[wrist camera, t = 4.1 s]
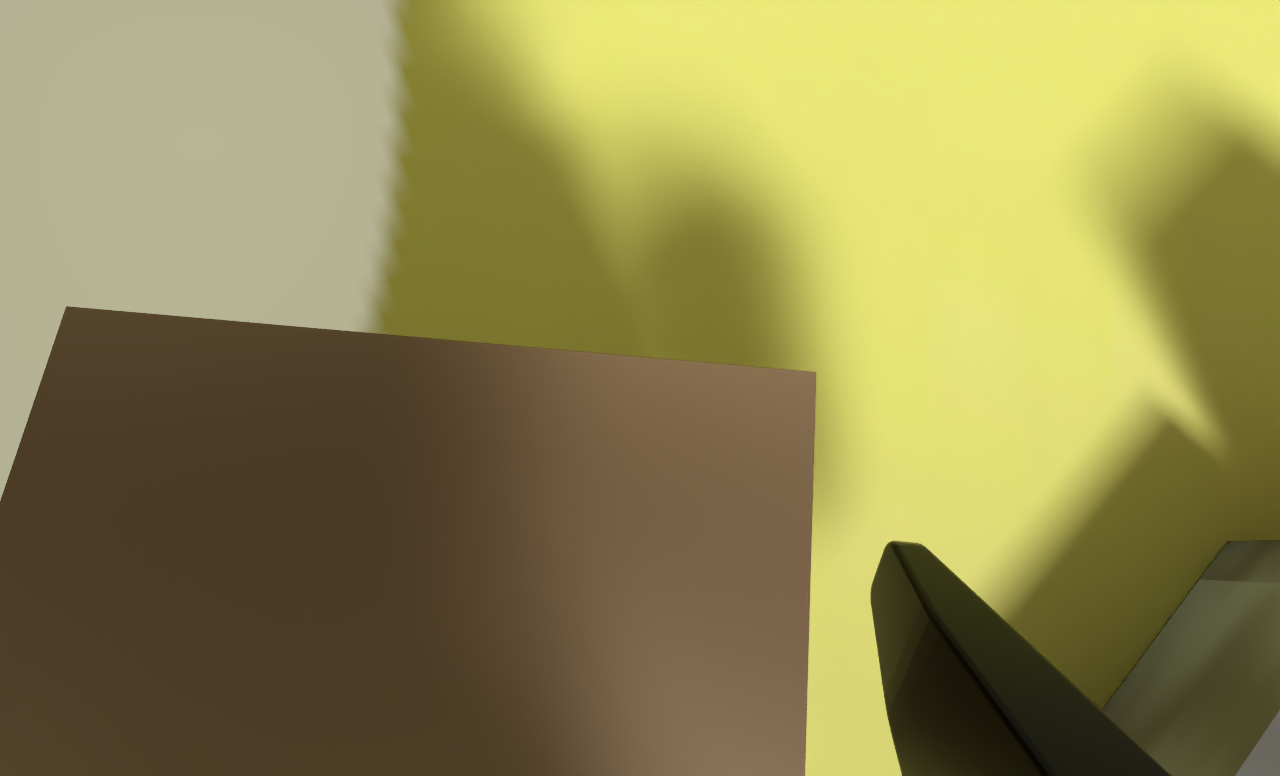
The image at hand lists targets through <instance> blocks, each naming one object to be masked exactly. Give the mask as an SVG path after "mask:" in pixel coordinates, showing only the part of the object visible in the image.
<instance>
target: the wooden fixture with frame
mask: <svg viewBox="0 0 1280 776" xmlns="http://www.w3.org/2000/svg"><path fill="white" fill-rule="evenodd" d="M1102 711H1103V712H1104V713H1105V714H1106V715H1107V716H1108V717H1109V718H1111V719H1112V720H1113V721H1114V722H1115V723H1116V724H1117V725H1118V726H1119V727H1120V728H1121V729H1122V730H1123V731H1125V732H1126V733H1127V734H1128V735H1129V736H1130V737H1131V738H1132V739H1133V740H1134V741H1135V742H1136V743H1137V744H1139V745H1140V746H1141V747H1142V748H1143V749H1144V750H1145V751H1146V752H1147V753H1148V754H1149V755H1150V756H1151V757H1153V758H1154V759H1155V760H1156V761H1157V762H1158V763H1159V764H1160V765H1161V766H1162V767H1163V768H1164V769H1166V770H1167V771H1168V772H1169V773H1170V774H1171V775H1172V776H1280V540H1262V541H1227V543H1226V544H1225V545H1224V547H1223V548H1222V549H1221V551H1220V552H1219V554H1218V555H1217V556H1216V558H1215V559H1214V560H1213V562H1212V563H1211V564H1210V566H1209V567H1208V568H1207V570H1206V571H1205V572H1204V574H1203V575H1202V576H1201V578H1200V579H1199V581H1198V582H1197V583H1196V585H1195V586H1194V587H1193V589H1192V590H1191V591H1190V593H1189V594H1188V595H1187V597H1186V598H1185V599H1184V601H1183V602H1182V604H1181V605H1180V606H1179V608H1178V609H1177V610H1176V612H1175V613H1174V614H1173V616H1172V617H1171V618H1170V620H1169V621H1168V622H1167V624H1166V625H1165V627H1164V628H1163V629H1162V631H1161V632H1160V633H1159V635H1158V636H1157V637H1156V639H1155V640H1154V641H1153V643H1152V644H1151V645H1150V647H1149V648H1148V650H1147V651H1146V652H1145V654H1144V655H1143V656H1142V658H1141V659H1140V660H1139V662H1138V663H1137V664H1136V666H1135V667H1134V668H1133V670H1132V671H1131V673H1130V674H1129V675H1128V677H1127V678H1126V679H1125V681H1124V682H1123V683H1122V685H1121V686H1120V687H1119V689H1118V690H1117V691H1116V693H1115V694H1114V696H1113V697H1112V698H1111V700H1110V701H1109V702H1108V704H1107V705H1106V706H1105V708H1104V709H1103V710H1102Z"/></svg>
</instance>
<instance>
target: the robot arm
mask: <svg viewBox="0 0 1280 776" xmlns="http://www.w3.org/2000/svg"><path fill="white" fill-rule="evenodd" d="M871 607H872V614H873V621H874V628H875V635H876V642H877V649H878V656H879V663H880V670H881V677H882V684H883V691H884V698H885V704H886V710H887V716H888V721H889V725H890V729H891V734H892V738H893V742H894V746H895V750H896V753H897V757H898V761H899V765H900V769H901V773H902V776H1172V775H1171V774H1170V773H1169V772H1168V771H1167V770H1166V769H1164V768H1163V767H1162V766H1161V765H1160V764H1159V763H1158V762H1157V761H1156V760H1155V759H1154V758H1153V757H1151V756H1150V755H1149V754H1148V753H1147V752H1146V751H1145V750H1144V749H1143V748H1142V747H1141V746H1140V745H1139V744H1137V743H1136V742H1135V741H1134V740H1133V739H1132V738H1131V737H1130V736H1129V735H1128V734H1127V733H1126V732H1125V731H1123V730H1122V729H1121V728H1120V727H1119V726H1118V725H1117V724H1116V723H1115V722H1114V721H1113V720H1112V719H1111V718H1109V717H1108V716H1107V715H1106V714H1105V713H1104V712H1103V711H1102V710H1101V709H1100V708H1099V707H1098V706H1097V705H1095V704H1094V703H1093V702H1092V701H1091V700H1090V699H1089V698H1088V697H1087V696H1086V695H1085V694H1084V693H1083V692H1081V691H1080V690H1079V689H1078V688H1077V687H1076V686H1075V685H1074V684H1073V683H1072V682H1071V681H1070V680H1068V679H1067V678H1066V677H1065V676H1064V675H1063V674H1062V673H1061V672H1060V671H1059V670H1058V669H1057V668H1056V667H1054V666H1053V665H1052V664H1051V663H1050V662H1049V661H1048V660H1047V659H1046V658H1045V657H1044V656H1043V655H1042V654H1040V653H1039V652H1038V651H1037V650H1036V649H1035V648H1034V647H1033V646H1032V645H1031V644H1030V643H1029V642H1028V641H1026V640H1025V639H1024V638H1023V637H1022V636H1021V635H1020V634H1019V633H1018V632H1017V631H1016V630H1015V629H1014V628H1012V627H1011V626H1010V625H1009V624H1008V623H1007V622H1006V621H1005V620H1004V619H1003V618H1002V617H1001V616H999V615H998V614H997V613H996V612H995V611H994V610H993V609H992V608H991V607H990V606H989V605H988V604H987V603H985V602H984V601H983V600H982V599H981V598H980V597H979V596H978V595H977V594H976V593H975V592H974V591H973V590H971V589H970V588H969V587H968V586H967V585H966V584H965V583H964V582H963V581H962V580H961V579H960V578H959V577H957V576H956V575H955V574H954V573H953V572H952V571H951V570H950V569H949V568H948V567H947V566H946V565H945V564H943V563H942V562H941V561H940V560H939V559H938V558H937V557H936V556H935V555H934V554H933V553H932V552H931V551H929V550H928V549H927V548H926V547H925V546H923V545H922V544H919V543H912V542H902V541H891V542H889V543H888V544H887V545H886V547H885V549H884V551H883V554H882V557H881V560H880V563H879V565H878V568H877V571H876V574H875V577H874V580H873V583H872V587H871Z"/></svg>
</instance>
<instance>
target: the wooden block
mask: <svg viewBox="0 0 1280 776" xmlns="http://www.w3.org/2000/svg"><path fill="white" fill-rule="evenodd" d="M815 393H816V372H807V371H796V370H785V369H773V368H762V367H750V366H739V365H728V364H716V363H705V362H693V361H682V360H671V359H659V358H648V357H636V356H625V355H614V354H602V353H591V352H579V351H568V350H557V349H545V348H534V347H522V346H511V345H500V344H488V343H477V342H465V341H454V340H443V339H431V338H420V337H408V336H397V335H386V334H374V333H363V332H351V331H339V330H329V329H317V328H305V327H293V326H282V325H272V324H260V323H249V322H237V321H226V320H215V319H203V318H192V317H180V316H169V315H157V314H146V313H135V312H124V311H112V310H101V309H89V308H78V307H66V309H65V312H64V315H63V318H62V321H61V324H60V327H59V330H58V333H57V335H56V339H55V341H54V345H53V347H52V351H51V353H50V356H49V359H48V362H47V365H46V368H45V371H44V374H43V378H42V380H41V383H40V386H39V389H38V392H37V395H36V397H35V400H34V403H33V407H32V410H31V412H30V415H29V418H28V421H27V424H26V427H25V430H24V433H23V436H22V439H21V442H20V445H19V448H18V451H17V454H16V457H15V460H14V463H13V465H12V469H11V471H10V474H9V477H8V480H7V483H6V486H5V489H4V492H3V495H2V498H1V501H0V776H805V753H806V717H807V681H808V645H809V609H810V573H811V537H812V501H813V465H814V429H815Z"/></svg>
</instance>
